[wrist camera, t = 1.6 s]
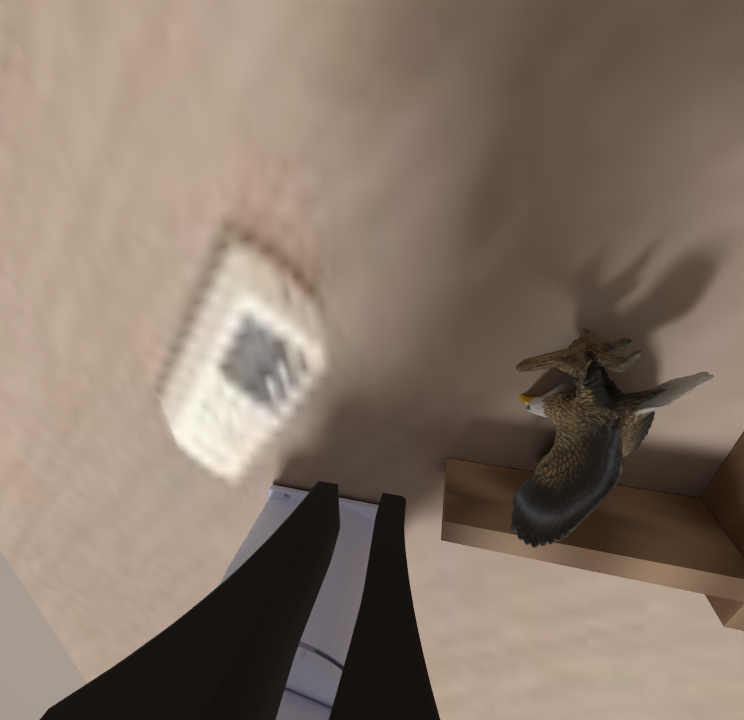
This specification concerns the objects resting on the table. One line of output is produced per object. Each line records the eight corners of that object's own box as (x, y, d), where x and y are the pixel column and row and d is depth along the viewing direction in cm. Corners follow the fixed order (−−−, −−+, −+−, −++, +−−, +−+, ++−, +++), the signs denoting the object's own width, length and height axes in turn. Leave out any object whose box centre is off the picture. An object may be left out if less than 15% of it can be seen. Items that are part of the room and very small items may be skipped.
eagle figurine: (458, 346, 17) (473, 505, 19) (591, 385, 10) (591, 624, 12) (581, 315, 19) (582, 463, 21) (762, 331, 12) (734, 545, 14)
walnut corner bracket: (441, 498, 23) (437, 563, 19) (476, 248, 15) (481, 273, 12) (703, 545, 20) (761, 634, 16) (903, 267, 13) (1100, 308, 9)
